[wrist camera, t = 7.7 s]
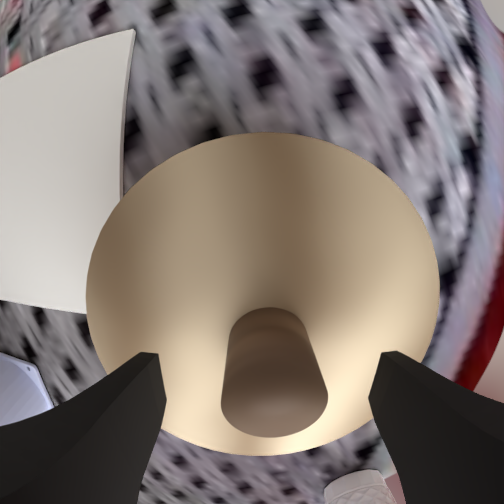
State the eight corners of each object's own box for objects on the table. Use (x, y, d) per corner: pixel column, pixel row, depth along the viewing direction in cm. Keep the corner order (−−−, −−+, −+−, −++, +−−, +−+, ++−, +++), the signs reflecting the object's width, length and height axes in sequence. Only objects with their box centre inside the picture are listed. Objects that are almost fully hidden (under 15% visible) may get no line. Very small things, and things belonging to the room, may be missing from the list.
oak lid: (139, 435, 13) (118, 492, 9) (77, 159, 10) (1, 156, 5) (393, 423, 13) (420, 476, 9) (436, 147, 10) (511, 141, 5)
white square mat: (-24, 291, 17) (-27, 293, 16) (-29, 97, 12) (-32, 97, 12) (133, 315, 17) (130, 318, 16) (136, 32, 13) (133, 28, 12)
